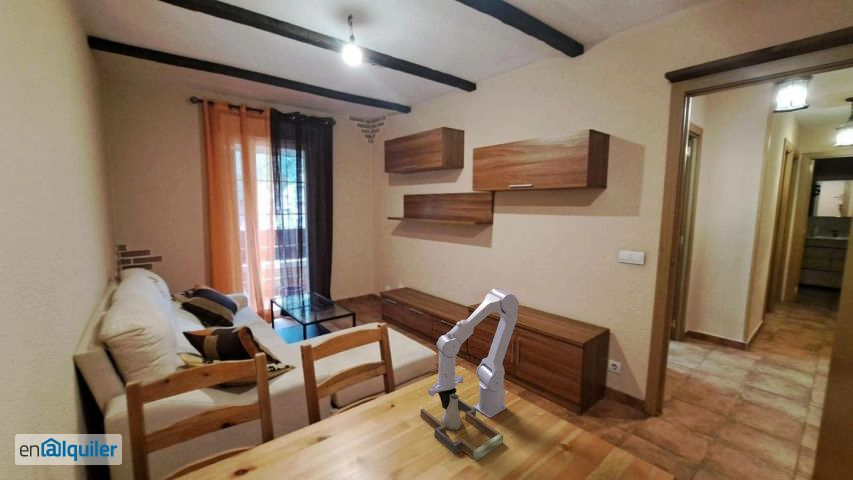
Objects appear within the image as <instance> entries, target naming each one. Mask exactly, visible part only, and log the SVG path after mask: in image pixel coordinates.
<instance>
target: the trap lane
mask: <svg viewBox="0 0 853 480" xmlns="http://www.w3.org/2000/svg"><path fill="white" fill-rule="evenodd" d="M458 409H461V410H462V411H463V412H465V420H466V421H467V422H468V423H470V424H471V425H473V427H476V428H477V429H478V430H480V431H481V432H482V433H484V434H486V435H487V436H488V437H490V438H491V439H489V440H488V441H486V442H485V443H483V444H482V445H480V446H478V447H477V448H475V447H474V446H473V445H471V443H469V442H468V441H466V440H465V439H464V438H460V439H458V440H455V441H453V440H452V439H451V438H449V437H448V436H447V435H446V434H447V428H446V426H445V425H444V424H443V423H442V422H441V420H438V418H436V417H435V416H434V415H432V414H431V413H429V411H427V410H426V409H424V408H421V409H420V418H422V419H423V420H424V421H425V422H426V423H428V424H429V425H430V426H432V427H433V428H434V438H436V440H438V441H439V442H441V443H442V445H444V446H445V447H446V448H447V449H449V451H451V452H452V453H453V454H456V453H458V452H460V451H463V452H464V453H465V454H467V456H469V458H471V459H473V460H474V461H475V462H477V461H478V460H480V459H482V458H483V457H484V456H487V454H489V453H490V452H491V451H493V450H494V449H496V448H497V447H499V446H500V445H502V444H503V443H504V434H502V433H501V432H500V431H498V430H497V429H495V428H493V427H492V426H490V425H489V424H487V423H486V422H484V421H483V420H481V419H479V418H478V417H477V416H476V415H477V410H476V409H475V408H474V407H473V406H470V405H469V404H467V403H466V402H464V401H462V399H460V398H459V399H458Z"/></svg>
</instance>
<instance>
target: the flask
mask: <svg viewBox="0 0 853 480" xmlns="http://www.w3.org/2000/svg"><path fill="white" fill-rule="evenodd" d="M458 399H460V396H459V395H458V394H457V393H455V394H451V395H450V402H449V405H448V407H447V409H446V410H445V411H444V413H443V414H442V416H441V420H440V422H441V423H443V424H444V425H445V426H446V429H448V430H459V429H460V428H461V427H462V425H463V423H462V418H461V414H460V411H459V407H458Z"/></svg>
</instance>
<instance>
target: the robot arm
mask: <svg viewBox="0 0 853 480" xmlns="http://www.w3.org/2000/svg"><path fill="white" fill-rule="evenodd" d="M519 306H520V302H519V300H518V298H517V296H516V295H515V294H512V293H509V292H508V291H505V290H503V289H502V288H499V287H495V288H493V289H491V290H490V291H489V292H488V293H487V294H486V295H485V297H484V300H483V301H482V302H481V304H480V305H479V306H478V307H477V308H476V309H475V310H474V311H473V312H472V314H471V315H469V317H468V318H467V319H461V320H460V321H459V320H458V321H457V322H456V325H455V326H453V328H452V329H451V330H450V331H449V332H447V333H446V334H444V335H443V334H442V335H441V336H440V337H439V338H438V340H437V342H436V343H435V344H436V345H435V346H436V347H437V349H438V375H437V377H438V378H437V379H436V380H437V381H436V382H435V383H434V384H433V385H432V386H431V387H430V388H428V389H427V390H428V391H427V394H428V395H429V396H430V397H432V398H433V397H434V396H435V395H436V394H438V396H439V398H440V403H441V407H442V408H443V409H444V410H445V411H446V409H447V407H448V405H449V402H450V395H451V394H457V388H455V387H456V386H457V385H458V384H464V377H463V376H462V375H457V376H456V360H457V359H456V358H457V357H456V356H457V355H458V353H459V352H460V348H461V346H462V344H463V343H465V341H467V339H468V338H469V337H470V336H471V335H473V334H474V330H475V329H474V328H475V327H476V326H477V325H478V324H479V323H481V322H482V321H483V320H484V319H485V318H487V317H488V316H489V315H491V313H493V314H497V313H498V314H499V316H500V319H499V322H498V324H497V325H498V326H497V327H496V332H494V333H495V334H494V336H493V340H492V343H491V346H490V349H489V350H488V355H487V357H485V358H482V360H481V362H480V364H479V365H478V366H477V368H476V371H475V374H476V376H477V378H478V379H479V380H478V381H479V386H478V387H479V388H478V389H479V390H478V403H477V404H475V405H473V406H472V408H474V409H475V410H476V411H477V412H480V413H481V414H483V415H484V416H486V417H487V418H489V419H491V418H493V417H494V416H496V415H498V414H499V413H501V412H502V411H505V410H507V406H506V405H505V404H506V403H505V401H506V400H505V399H506V389H505V387H504V383H505V374H506V371H505V367H504V365H503V361H504V359H505V356H506V353H507V350H508V347H509V344H510V341H511V337H512V335H513V333H514V330H515V326H516V324H517V321H518V312H519V311H518V308H519Z"/></svg>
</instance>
